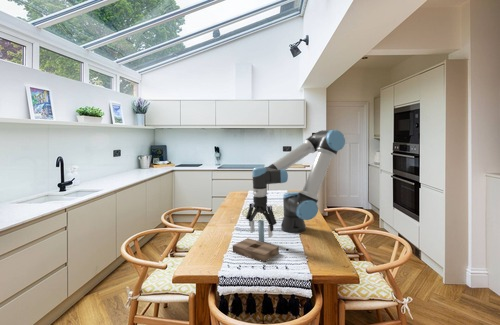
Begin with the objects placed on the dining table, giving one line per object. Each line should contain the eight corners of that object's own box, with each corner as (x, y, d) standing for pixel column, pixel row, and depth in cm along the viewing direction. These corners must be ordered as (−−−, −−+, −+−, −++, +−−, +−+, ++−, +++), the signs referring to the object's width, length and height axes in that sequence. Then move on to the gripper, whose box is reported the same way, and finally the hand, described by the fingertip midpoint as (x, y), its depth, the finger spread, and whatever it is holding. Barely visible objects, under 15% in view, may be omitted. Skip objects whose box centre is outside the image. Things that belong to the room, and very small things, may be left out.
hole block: (247, 244, 150) (247, 238, 150) (278, 253, 137) (278, 246, 137) (232, 252, 141) (232, 245, 141) (264, 262, 128) (264, 255, 128)
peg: (261, 240, 155) (260, 219, 154) (265, 241, 153) (264, 220, 152) (257, 242, 153) (257, 221, 152) (262, 243, 151) (261, 222, 150)
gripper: (239, 194, 155) (240, 232, 157) (274, 199, 140) (275, 241, 142) (247, 192, 161) (248, 228, 163) (282, 196, 146) (283, 236, 148)
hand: (261, 234), depth 153 cm, fingers open, 12 cm apart
